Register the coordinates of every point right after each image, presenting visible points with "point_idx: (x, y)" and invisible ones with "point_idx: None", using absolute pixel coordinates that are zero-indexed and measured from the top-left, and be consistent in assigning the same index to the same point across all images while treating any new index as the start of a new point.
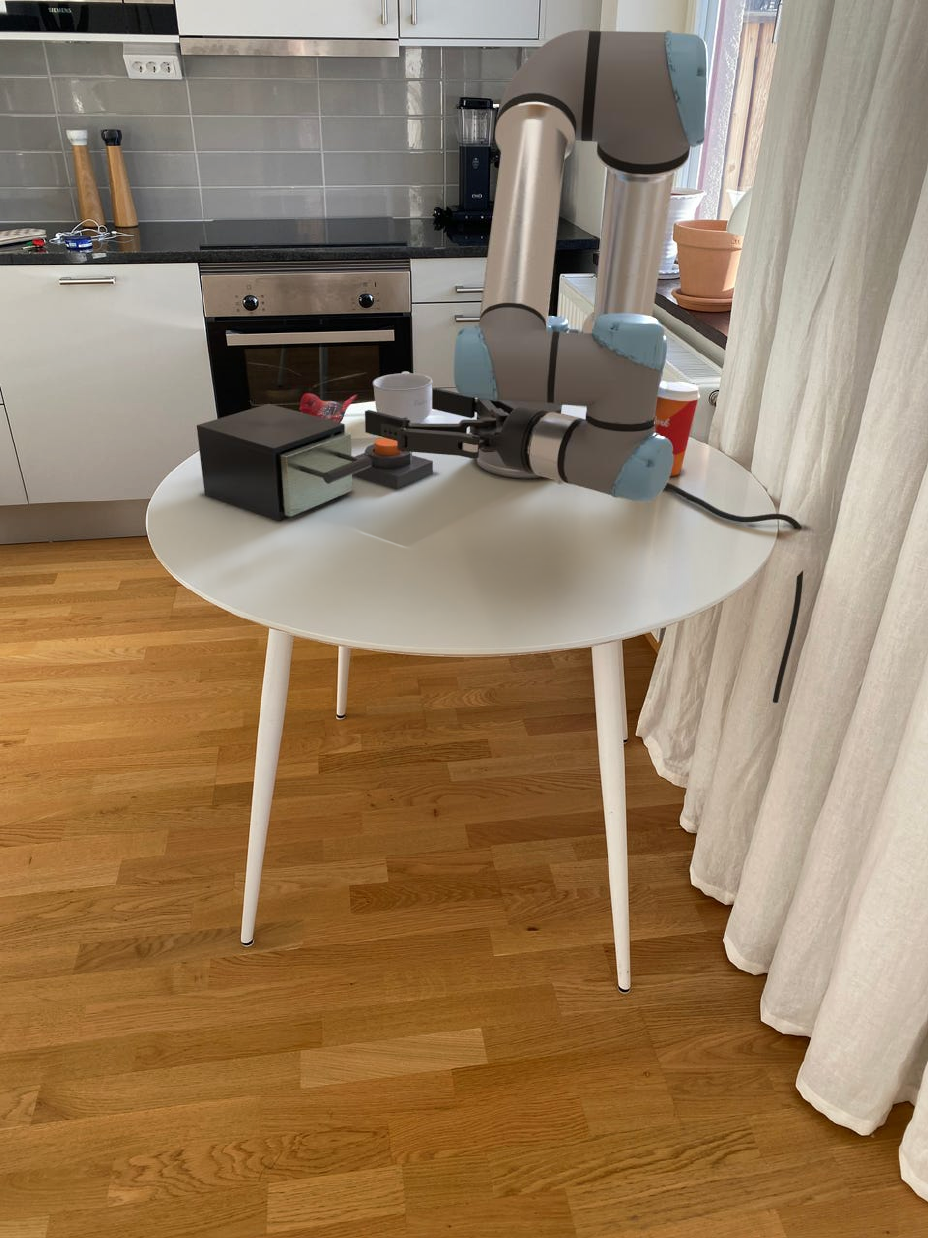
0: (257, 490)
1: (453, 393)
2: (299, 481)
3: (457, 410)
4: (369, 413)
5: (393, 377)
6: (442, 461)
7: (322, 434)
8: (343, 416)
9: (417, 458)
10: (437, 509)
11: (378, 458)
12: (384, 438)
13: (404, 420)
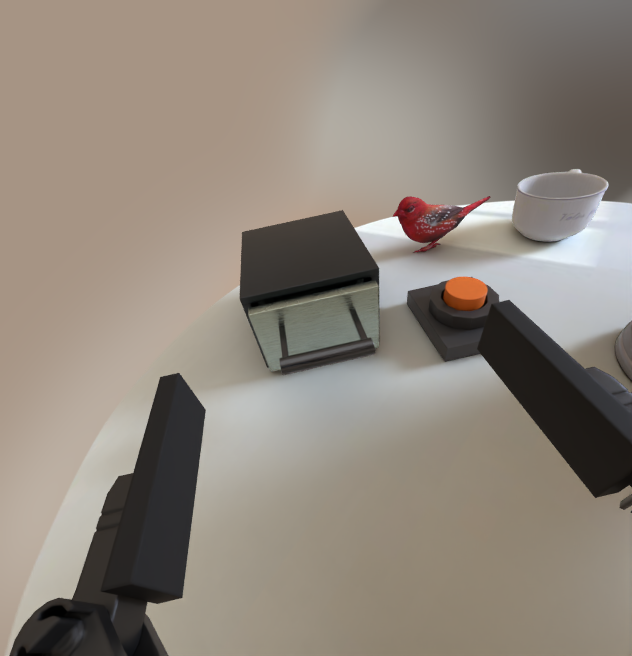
0: None
1: (557, 367)
2: (279, 340)
3: (548, 422)
4: (157, 394)
5: (553, 176)
6: (553, 320)
7: (333, 281)
8: (459, 222)
9: None
10: (470, 446)
11: (437, 310)
12: (466, 279)
13: (14, 645)
